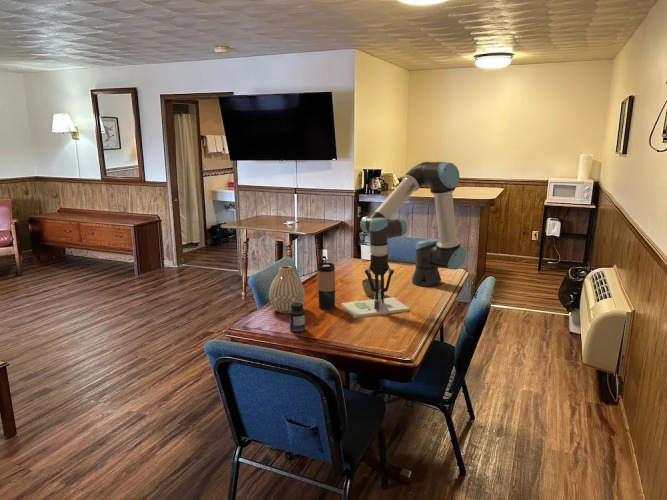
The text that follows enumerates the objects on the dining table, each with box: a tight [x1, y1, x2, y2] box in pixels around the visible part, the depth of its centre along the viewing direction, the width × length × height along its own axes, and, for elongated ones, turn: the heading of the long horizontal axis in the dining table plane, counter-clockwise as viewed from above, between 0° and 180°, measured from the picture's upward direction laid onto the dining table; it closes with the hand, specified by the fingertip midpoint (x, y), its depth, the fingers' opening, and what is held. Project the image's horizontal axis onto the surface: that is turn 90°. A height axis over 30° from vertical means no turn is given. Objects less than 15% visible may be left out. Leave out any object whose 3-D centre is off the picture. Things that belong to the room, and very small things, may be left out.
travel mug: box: [317, 262, 336, 311], centre depth 218 cm, size 8×8×20 cm
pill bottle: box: [288, 302, 306, 334], centre depth 192 cm, size 6×6×11 cm
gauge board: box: [341, 296, 410, 319], centre depth 218 cm, size 26×17×2 cm, turn 107°
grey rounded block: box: [373, 293, 384, 309], centre depth 216 cm, size 12×4×5 cm, turn 168°
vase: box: [268, 265, 306, 314], centre depth 215 cm, size 16×16×20 cm
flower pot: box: [361, 278, 381, 298], centre depth 236 cm, size 10×10×7 cm
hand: (380, 306), depth 212 cm, fingers closed
